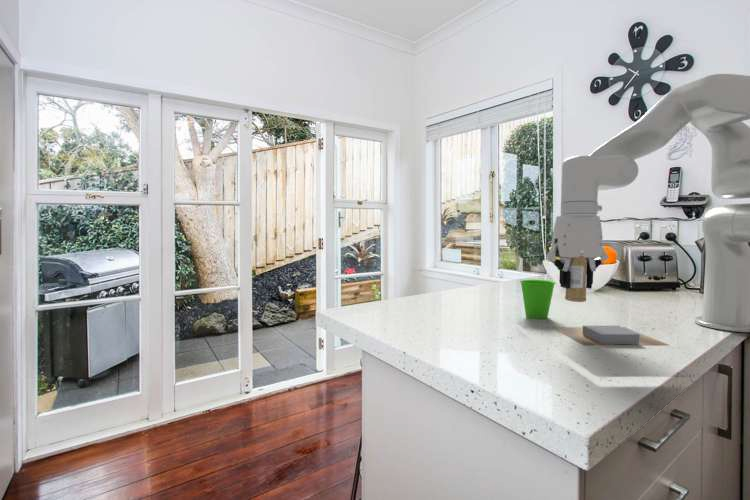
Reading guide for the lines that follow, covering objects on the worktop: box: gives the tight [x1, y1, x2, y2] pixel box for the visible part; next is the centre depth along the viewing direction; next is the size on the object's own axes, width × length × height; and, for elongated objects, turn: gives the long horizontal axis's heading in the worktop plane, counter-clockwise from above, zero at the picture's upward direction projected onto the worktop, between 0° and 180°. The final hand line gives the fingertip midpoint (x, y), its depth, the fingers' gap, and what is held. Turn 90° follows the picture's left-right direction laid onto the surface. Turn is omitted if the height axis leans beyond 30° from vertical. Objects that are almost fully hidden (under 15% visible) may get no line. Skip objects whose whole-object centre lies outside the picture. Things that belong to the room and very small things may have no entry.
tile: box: [582, 325, 640, 344], centre depth 81 cm, size 2×7×8 cm
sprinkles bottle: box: [564, 250, 587, 303], centre depth 87 cm, size 5×5×14 cm
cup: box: [519, 279, 556, 320], centre depth 102 cm, size 9×9×11 cm
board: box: [552, 326, 670, 346], centre depth 84 cm, size 18×14×1 cm
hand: (575, 286), depth 87 cm, fingers closed on sprinkles bottle, 4 cm apart
